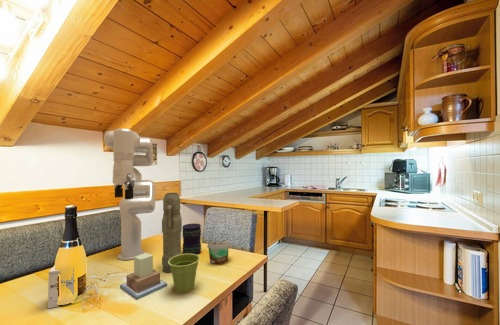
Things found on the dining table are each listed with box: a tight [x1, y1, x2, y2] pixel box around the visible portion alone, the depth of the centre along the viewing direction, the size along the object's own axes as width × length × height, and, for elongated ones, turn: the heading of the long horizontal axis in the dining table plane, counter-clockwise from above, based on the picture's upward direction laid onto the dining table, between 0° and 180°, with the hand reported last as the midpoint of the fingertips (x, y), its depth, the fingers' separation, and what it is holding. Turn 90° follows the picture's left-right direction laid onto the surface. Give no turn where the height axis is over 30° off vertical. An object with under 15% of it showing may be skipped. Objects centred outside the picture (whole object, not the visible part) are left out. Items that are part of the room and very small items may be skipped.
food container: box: [206, 237, 231, 266], centre depth 113 cm, size 12×6×10 cm, turn 131°
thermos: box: [161, 192, 183, 274], centre depth 107 cm, size 9×12×35 cm
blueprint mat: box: [119, 279, 168, 301], centre depth 91 cm, size 14×12×1 cm
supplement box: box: [47, 264, 75, 309], centre depth 82 cm, size 7×7×13 cm
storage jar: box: [181, 223, 202, 256], centre depth 126 cm, size 10×10×15 cm
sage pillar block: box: [133, 252, 154, 278], centre depth 91 cm, size 5×5×7 cm
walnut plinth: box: [126, 268, 161, 293], centre depth 91 cm, size 9×9×4 cm
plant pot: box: [168, 253, 201, 294], centre depth 89 cm, size 12×12×11 cm
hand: (123, 198), depth 98 cm, fingers open, 9 cm apart
